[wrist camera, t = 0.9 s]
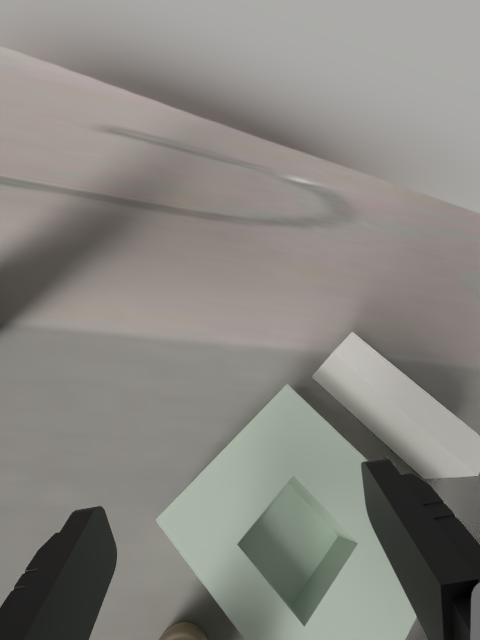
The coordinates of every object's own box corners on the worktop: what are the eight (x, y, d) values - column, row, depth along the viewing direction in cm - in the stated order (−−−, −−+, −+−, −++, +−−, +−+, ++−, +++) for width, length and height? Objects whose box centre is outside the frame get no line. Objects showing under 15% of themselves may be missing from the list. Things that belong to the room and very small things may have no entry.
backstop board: (311, 377, 34) (333, 351, 28) (327, 359, 35) (352, 331, 29) (423, 479, 30) (477, 475, 24) (438, 455, 31) (493, 446, 25)
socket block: (166, 514, 27) (155, 520, 22) (274, 401, 32) (286, 383, 27) (309, 702, 22) (340, 767, 17) (408, 532, 28) (454, 542, 22)
